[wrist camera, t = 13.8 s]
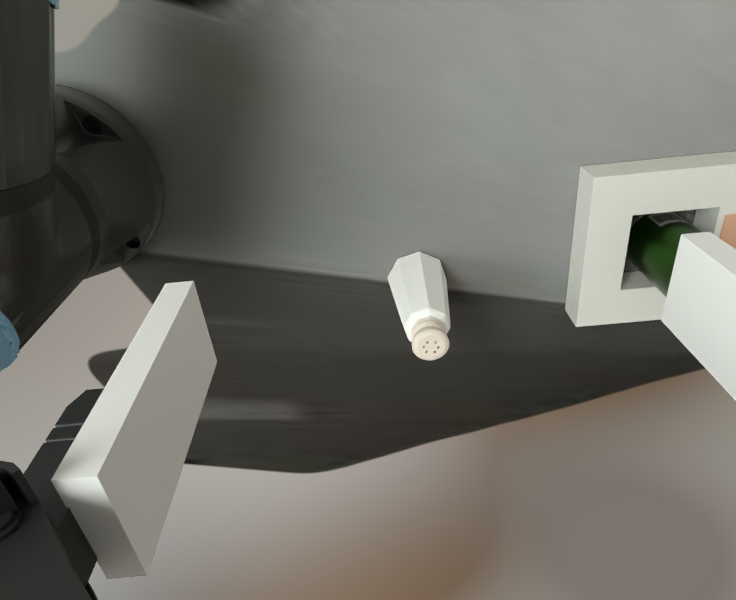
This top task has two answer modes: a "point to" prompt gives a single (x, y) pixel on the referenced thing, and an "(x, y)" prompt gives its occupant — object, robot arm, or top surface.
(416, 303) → the salt shaker
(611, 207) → the socket block
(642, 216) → the beer can
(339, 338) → the top surface
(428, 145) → the top surface
